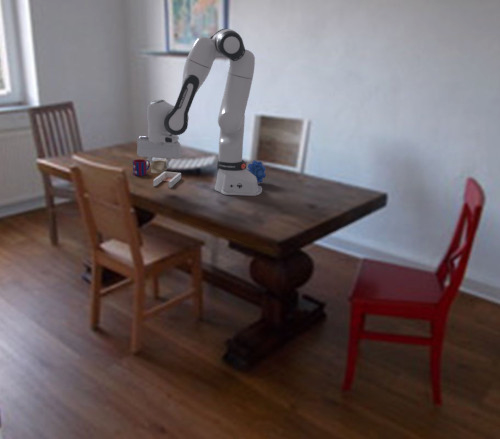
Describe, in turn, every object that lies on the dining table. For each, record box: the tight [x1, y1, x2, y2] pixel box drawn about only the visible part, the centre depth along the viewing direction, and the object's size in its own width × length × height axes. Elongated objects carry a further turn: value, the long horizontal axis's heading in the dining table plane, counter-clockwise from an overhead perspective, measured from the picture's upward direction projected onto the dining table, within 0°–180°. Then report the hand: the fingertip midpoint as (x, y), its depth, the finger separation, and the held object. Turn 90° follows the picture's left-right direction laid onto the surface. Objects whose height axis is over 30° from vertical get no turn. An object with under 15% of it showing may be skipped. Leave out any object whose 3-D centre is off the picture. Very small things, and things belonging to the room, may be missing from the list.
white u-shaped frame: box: [152, 171, 182, 189], centre depth 267 cm, size 9×16×3 cm, turn 169°
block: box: [150, 158, 168, 174], centre depth 251 cm, size 5×7×4 cm
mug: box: [132, 158, 151, 177], centre depth 280 cm, size 7×10×7 cm
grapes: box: [247, 160, 267, 183], centre depth 269 cm, size 12×7×12 cm, turn 127°
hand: (159, 166), depth 253 cm, fingers closed on block, 5 cm apart
